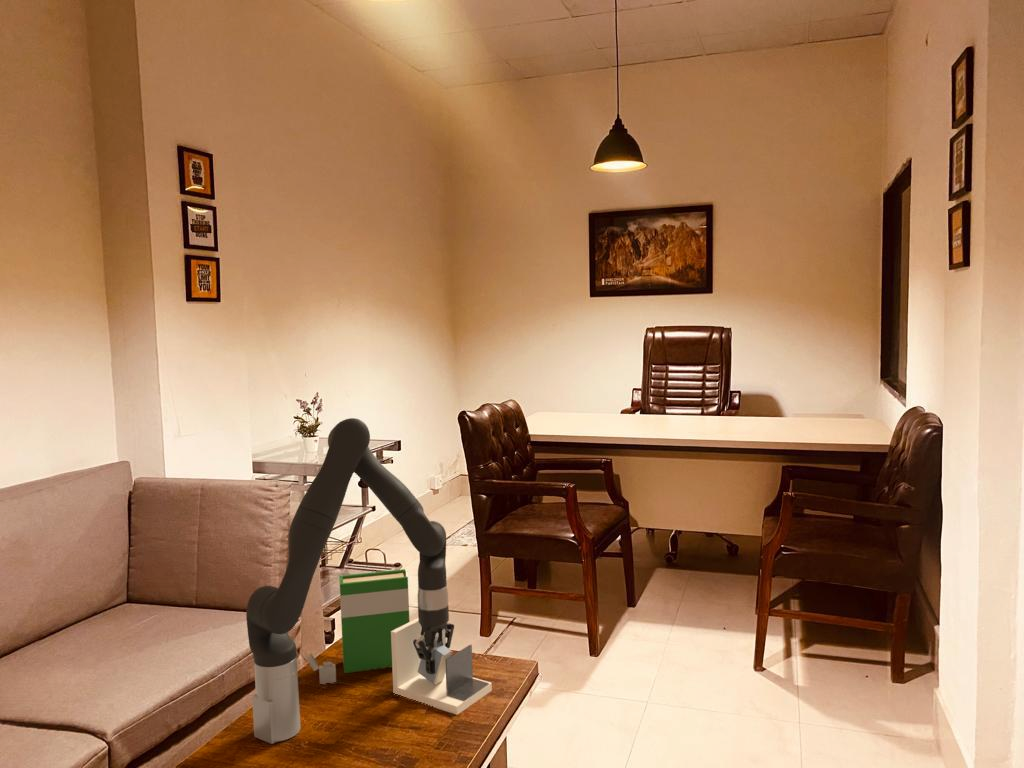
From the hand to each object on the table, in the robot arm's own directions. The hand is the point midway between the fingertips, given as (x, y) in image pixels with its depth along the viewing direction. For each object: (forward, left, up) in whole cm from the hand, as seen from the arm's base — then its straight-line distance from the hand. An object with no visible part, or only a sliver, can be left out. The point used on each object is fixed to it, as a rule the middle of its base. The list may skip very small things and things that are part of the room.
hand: (435, 670), depth 198 cm
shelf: (0, -2, -5) cm, 6 cm away
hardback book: (+4, +24, -5) cm, 25 cm away
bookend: (+1, -9, -3) cm, 10 cm away
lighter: (-12, +28, -5) cm, 31 cm away
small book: (0, +2, -2) cm, 3 cm away
